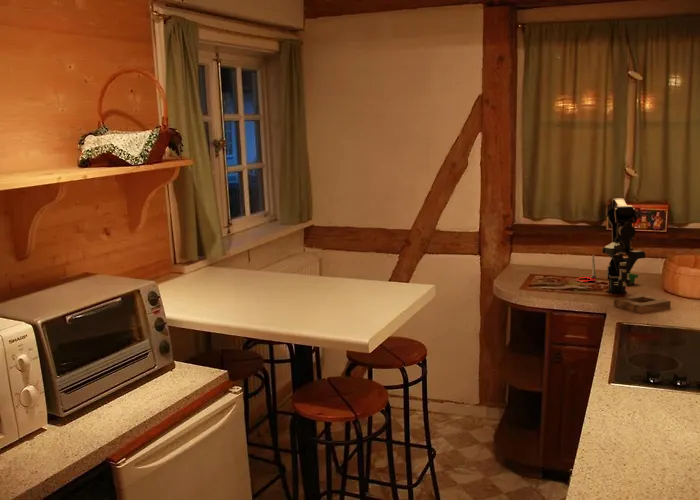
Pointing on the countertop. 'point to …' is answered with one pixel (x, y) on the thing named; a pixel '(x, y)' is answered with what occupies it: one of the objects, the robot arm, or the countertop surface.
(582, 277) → the red grey looped piece
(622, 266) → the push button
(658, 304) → the holder block
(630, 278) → the clamp
